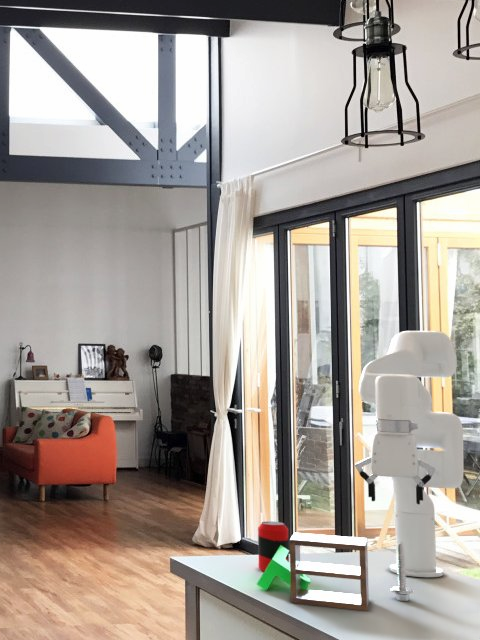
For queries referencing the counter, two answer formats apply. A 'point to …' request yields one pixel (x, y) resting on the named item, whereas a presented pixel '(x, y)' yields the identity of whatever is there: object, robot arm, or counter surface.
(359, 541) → the shelf
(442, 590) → the counter surface
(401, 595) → the screw
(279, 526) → the soda can
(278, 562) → the bracket
